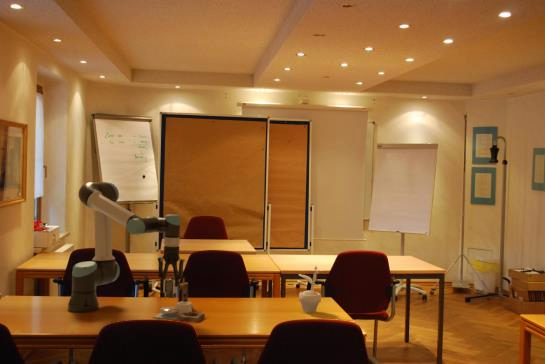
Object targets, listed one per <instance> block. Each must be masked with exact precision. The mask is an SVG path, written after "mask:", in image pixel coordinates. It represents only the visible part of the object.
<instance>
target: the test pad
mask: <svg viewBox="0 0 545 364" xmlns="http://www.w3.org/2000/svg"><path fill="white" fill-rule="evenodd" d="M159 311H160V312H159V313H162V314H176V313H178V312H179V309H176V306H164V307H160V309H159Z"/></svg>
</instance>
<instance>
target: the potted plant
mask: <svg viewBox="0 0 545 364" xmlns="http://www.w3.org/2000/svg"><path fill="white" fill-rule="evenodd" d="M313 269H314V271H315V272H313V275H312V276H313V277H312V278H311V277H310V276H308V275H305V274H300V273H298V276H299V277H301V278H303V279H304V280H306V281H307V282H308V283H310V285H311V286H310V290H309V289H308V290H304V291H301V292H299V295H298V298H299V299H298V300H299V302H300V304H301V308H302V312H304V313H305V314H315V313H316V312H317V308H318V306H319V304H320V303H321V302H322V294H321V293H320V292H317V291H315V290H314V285H315V284H314V283H315V282H317V274H319V272H320V270H318V269H319V268H318V267H317V266H315V267H313Z"/></svg>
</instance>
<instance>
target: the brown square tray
mask: <svg viewBox="0 0 545 364" xmlns="http://www.w3.org/2000/svg"><path fill="white" fill-rule="evenodd" d="M187 314H188V316H187ZM204 318H205V312H196V311H192V312H188V313H182V314H181V315H179V316H178V319H177V321H180V320H181V321H180V322H189V323H190V322H192V323H199V322H200V321H201V320H203V319H204Z"/></svg>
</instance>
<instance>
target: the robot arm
mask: <svg viewBox="0 0 545 364" xmlns="http://www.w3.org/2000/svg"><path fill="white" fill-rule="evenodd" d="M119 193H120V192H119V189H118V187H117V186H116V185H115V184H114V183H112V182H106V181H103V182H99V181H97V182H95V181H93V182H91V181H90V182H86V183H83V185H81V187H80V188H79V189H78V198H79V200H80V202H81V203H82V204H83V205H84V206H86V207H87V208H89V209H92V210H93V211H94V257H93V258H92V259H91V260H90V261H89V260H88V261H81V262H78V263H75V264H74V265H73V267H72V272H71V278H72V279H71V284H72V285H71V295H70V298H69V301H68V303H67V310H68V311H70V312H73V313H89V312H94V311H97V310H99V309H100V302H99V300H98V297H97V287H98V286H101V285H108V284H110V283H113V282H116V280H117V279H118V278H119V276H120V271H121V270H120V265H119V264H118V262H117V261H116V257H115V256H114V255H113V236H112V235H113V229H112V228H113V227H112V225H113V224H112V223H113V221H112V220H114V221H115V222H117V223H119V224H120V225H122V226H124V227H125V228H126V230H127V231H128V233H129V234H131V235H137V236H138V235H144V234H151V233H163V234H164V239H163V240H164V241H163V242H164V243H163V245H164V246H163V255H162V256H160V257H158V258H157V261H158V278H161V285H162V286H163V290H162V293H164V294H165V288H166V280H168V278H167V275H168V271H169V268H170V265H171V267H172V271H173V275H174V279H172V280H173V294H174V295H175V294H176V293H177V287H179V279H180V280H181V279H182V280H183V274H184V272H183V270H184V263H185V258H181V257H180V244H181V243H180V241H181V237H180V235H181V233H180V232H181V216H180V214H173V213H171V214H165V216H164V217H159V216H147V217H140V216H138V215H137V214H135V213H134V212H132V211H130V210H129V209H127V208H125V207H123V206H121V204H118V203H117V201H118V200H119V198H120V197H119V196H120V194H119ZM163 264H164V265H163Z"/></svg>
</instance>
